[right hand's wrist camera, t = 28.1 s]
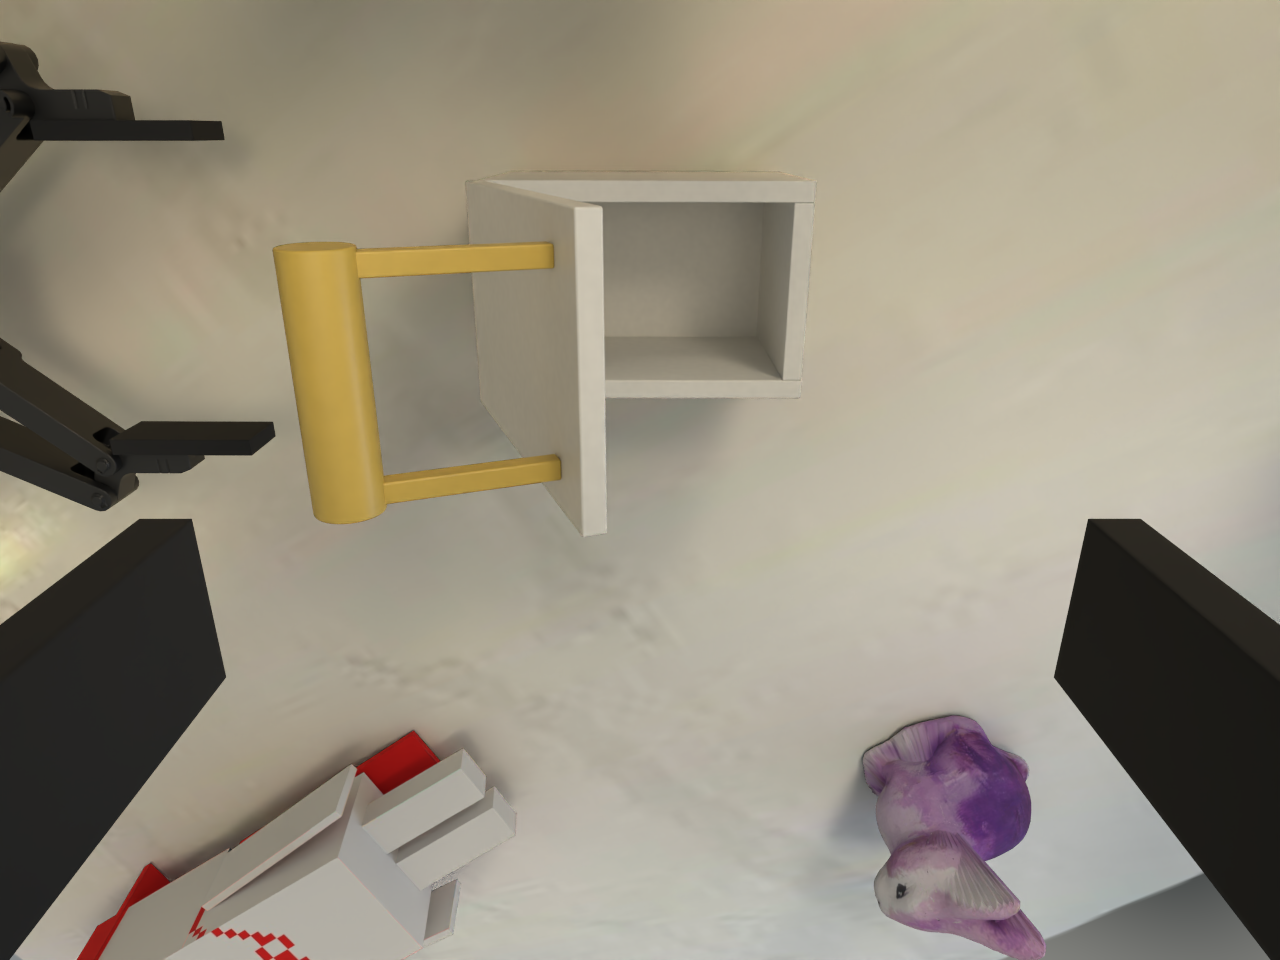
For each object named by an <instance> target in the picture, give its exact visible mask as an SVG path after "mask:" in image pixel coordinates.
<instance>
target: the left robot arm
mask: <svg viewBox="0 0 1280 960" xmlns="http://www.w3.org/2000/svg"><path fill="white" fill-rule="evenodd" d="M38 66H39V65H38V59H37V57H36V55H35V53H34V52H33V51H32V50H31V49H30V48H29V47H27V46H25V45H18V44H13V43H6V42H0V192H1V191H2V190H3V188H4V187H5V186H6V185H7V184H8V182H9V181H10V180H11V179H12V178H13V176H14V175H15V174H16V173H17V172H18V171H19V169H20V168H21V167H22V166H23V165H24V163H25V162H26V161H27V160H28V159H29V157H30V156H31V155H32V154H33V153H34V152H35V150H36V149H37V148H38V147H39V146H40V144H41V143H42V142H43V141H198V140H224V134H223V128H222V122H221V121H192V120H135V117H134V112H133V108H132V103H131V98H130V96H128V95H126V94H123V93H121V92H118V91H109V90H55V89H52V88H51V87H49V86H48V85H47V84H46V83H45V82H44V81H43V79H42V78H41V76H40V75H39V73H38V71H37V70H38ZM0 410H1V411H3V412H4V413H6V414H7V415H9V416H10V417H12V418H13V419H15V420H16V421H18V422H20V423H21V424H23V425H24V426H22V425H20V424H18V423H15V422H13V421H11V420H8V419H6V418H3V417H1V416H0V471H2V472H5V473H7V474H9V475H12V476H14V477H17V478H19V479H21V480H24V481H26V482H29V483H31V484H34V485H36V486H38V487H41V488H43V489H46V490H48V491H51V492H53V493H55V494H58V495H60V496H63V497H65V498H68V499H70V500H72V501H75V502H77V503H80V504H82V505H85V506H87V507H89V508H92V509H94V510H97V511H106V510H107V509H109V508H110V507H112V506H113V505H115V504H116V503H118V502H119V501H121V500H122V499H124V498H125V497H126V496H128V495H129V494H131V493H132V492H133V491H135V490H136V489H137V488H138V486H139V480H138V477H137V476H136V473H183V472H185V471H188V470H190V469H192V468H193V467H194V466H196V465H197V464H198V463H200V462H201V461H203V460H204V459H205V457H204V455H253V454H254V453H255V452H257V451H258V450H259V449H260V448H262V447H263V446H264V445H265V444H267V443H268V442H269V441H270V440H271V439H273V438H274V437H275V431H274V425H273V422H180V421H141V422H139V423H138V424H136V425H134V426H132V427H131V428H129V429H127V430H124V429H123V428H121V427H120V426H118V425H117V424H115V423H114V422H112V421H111V420H109V419H108V418H107V417H105V416H104V415H102V414H101V413H99V412H98V411H96V410H95V409H93V408H92V407H90V406H89V405H87V404H86V403H84V402H83V401H81V400H80V399H79V398H77V397H76V396H74V395H73V394H71V393H70V392H68V391H67V390H65V389H64V388H62V387H61V386H59V385H58V384H56V383H55V382H53V381H52V380H51V379H49V378H48V377H46V376H45V375H43V374H42V373H40V372H39V371H37V370H36V369H34V368H33V367H31V366H30V365H28V364H27V363H25V362H24V361H23V360H22V354H21V353H20V351H18V350H17V349H16V348H14V347H13V346H11V345H10V344H8V343H7V342H5V341H4V340H3V339H1V338H0ZM25 426H26V427H25Z"/></svg>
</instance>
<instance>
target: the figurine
mask: <svg viewBox="0 0 1280 960" xmlns="http://www.w3.org/2000/svg"><path fill="white" fill-rule="evenodd" d="M863 765H864V769H865V770H864V771H865V773H864V774H865V780H866V783H867V784H868V785H869V786H868V787H869V788H870V789H872V792H873V793H874V794H876V795H877V796H878V800H877V804H876V819H877V824H878V828H879V831H880V833H881V835H882V838H883V839H884V841H885V843H886V845H887V847H888V849H889V851H890V853H891V856H890V858H889V859H888V861H887V862H886V863H885V865H884V866H883V867H882V868H881V869H880V871H879V872H878V874H877V876H876V878H875V880H874V890H875V896H876V898H877V900H878V903H879V907H880V909H881V911H882V912H883V913H884V914H885V915H886V916H887V917H889V918H891V919H893V920H896V921H898V922H900V923H902V924H904V925H907V926H909V927H912V928H915V929H918V930H922V931H927V932H940V933H950V934H955V935H959V936H962V937H965V938H967V939H970V940H972V941H975V942H977V943H980V944H982V945H984V946H986V947H988V948H990V949H992V950H995V951H998V952H1000V953H1002V954H1005V955H1008V956H1010V957H1013V958H1017V959H1019V960H1038V959H1040V958H1042V957H1043V956H1044V955H1045V953H1046V944H1045V942H1044V940H1043V937H1042V936H1041V934H1040V932H1039V931H1038V930H1037V929H1036V927H1035V926H1034V925H1033V924H1032V923H1031V921H1030V920H1029V919H1028V918H1027V917H1026V915H1025V914H1024V913H1023V912H1022V911H1021V909H1020V901H1019V900H1018V898H1017V897H1016V896H1015V895H1014V894H1013V893H1012V892H1011V890H1010V889H1009V888H1008V887H1007V886H1006V885H1005V884H1004V883H1003V881H1002V880H1001V879H1000V878H999V877H998V876H997V875H996V874H995V872H994V871H993V870H992V869H991V868H990V867H989V866H988V865H987V863H986V862H985V861H987V860H990V859H993V858H995V857H997V856H1000V855H1002V854H1003V853H1005V852H1007V851H1009V850H1011V849H1012V848H1014V847H1015V846H1016V845H1017V844H1019V843H1020V841H1021V840H1022V839H1023V838H1024V836H1025V835H1026V833H1027V831H1028V828H1029V824H1030V820H1031V799H1030V794H1029V791H1028V787H1027V785H1026V783H1025V781H1026V779H1027V778H1028V776H1029V767H1028V765H1027V763H1026V761H1025V760H1023V759H1022V758H1021V757H1019V756H1017V755H1015V754H1012V753H1009V752H1006V751H1004V750H1001V749H999V748H996V747H994V746H992V745H991V743H990V741H989V739H988V738H987V736H986V734H985V732H984V731H983V729H982V728H981V726H980V725H979V724H978V723H977V722H976V721H974V720H972V719H970V718H966V717H962V716H956V715H951V716H948V717H944V718H939V719H934V720H929V721H925V722H921V723H917V724H914V725H912V726H909V727H904V728H903V729H902V730H901V731H900V732H898V733H897V734H895V735H894V736H893V737H892V738H891V739H890V740H888V741H886V742H884V743H883V744H879V745H878V746H876V747H873V748H872V749H870V750H869V751H867V752H866V753H865V754H864V758H863Z"/></svg>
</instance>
